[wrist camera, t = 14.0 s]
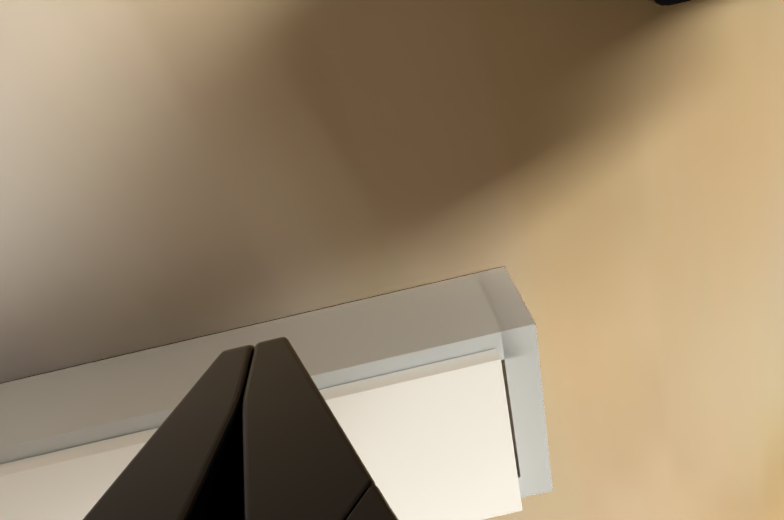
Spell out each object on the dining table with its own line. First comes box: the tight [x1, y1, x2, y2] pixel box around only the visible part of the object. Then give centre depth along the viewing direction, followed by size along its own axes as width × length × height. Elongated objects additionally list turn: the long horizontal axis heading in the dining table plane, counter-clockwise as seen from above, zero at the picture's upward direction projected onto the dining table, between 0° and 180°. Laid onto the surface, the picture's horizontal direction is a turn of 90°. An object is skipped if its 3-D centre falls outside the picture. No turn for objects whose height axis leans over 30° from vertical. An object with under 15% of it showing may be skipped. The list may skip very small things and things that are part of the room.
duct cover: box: [0, 349, 522, 520], centre depth 20 cm, size 19×6×1 cm, turn 101°
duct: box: [0, 266, 553, 498], centre depth 22 cm, size 21×7×3 cm, turn 101°
